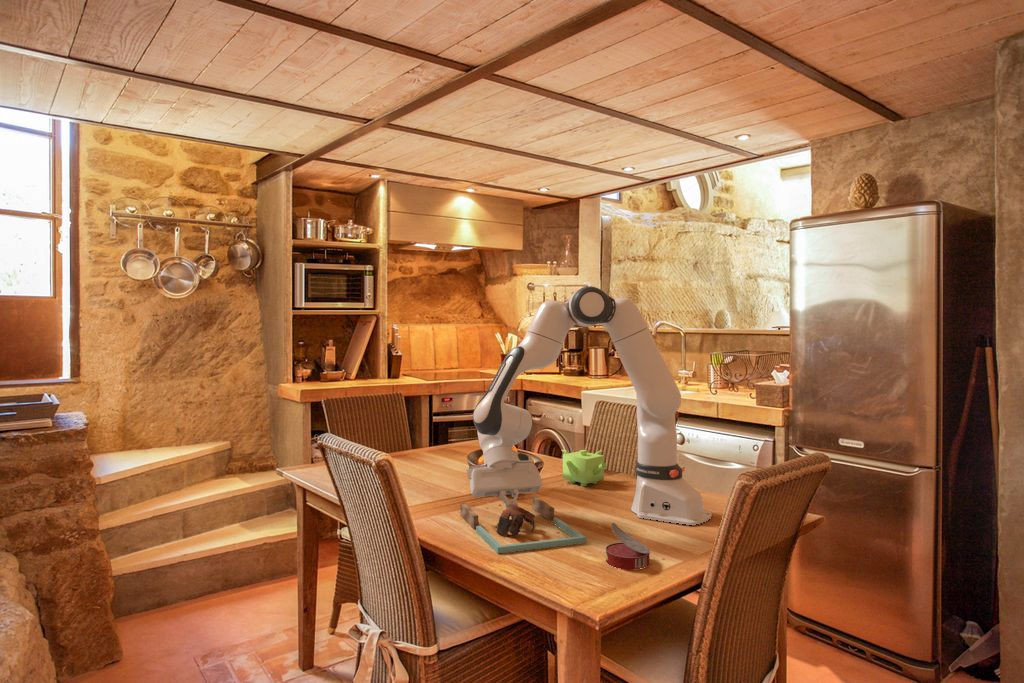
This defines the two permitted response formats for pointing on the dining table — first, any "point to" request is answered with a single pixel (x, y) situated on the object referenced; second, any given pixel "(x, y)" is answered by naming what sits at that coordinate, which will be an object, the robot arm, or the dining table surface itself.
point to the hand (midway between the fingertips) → (512, 506)
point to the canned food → (626, 551)
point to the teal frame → (575, 539)
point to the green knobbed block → (583, 467)
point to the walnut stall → (536, 505)
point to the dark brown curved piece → (514, 520)
